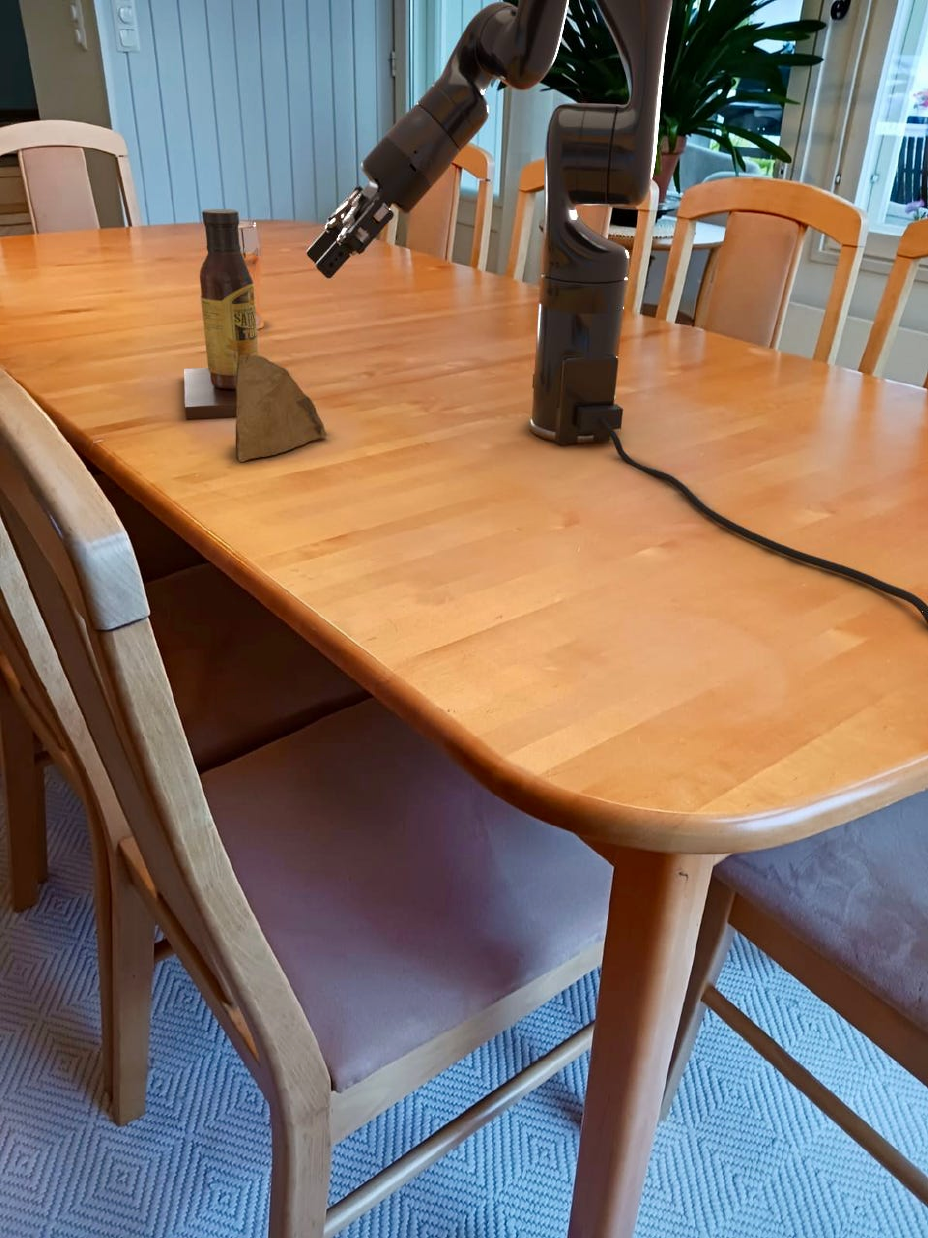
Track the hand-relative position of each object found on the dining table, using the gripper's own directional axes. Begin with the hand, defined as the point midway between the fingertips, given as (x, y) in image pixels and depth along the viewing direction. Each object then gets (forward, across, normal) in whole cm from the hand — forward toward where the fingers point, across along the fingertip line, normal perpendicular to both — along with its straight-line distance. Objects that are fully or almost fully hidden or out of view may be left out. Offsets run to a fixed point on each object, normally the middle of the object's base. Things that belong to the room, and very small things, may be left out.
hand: (316, 266), depth 111 cm
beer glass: (+16, -36, +6) cm, 40 cm away
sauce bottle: (+17, -1, +2) cm, 17 cm away
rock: (+16, +18, +6) cm, 25 cm away
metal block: (+18, -1, +3) cm, 19 cm away
